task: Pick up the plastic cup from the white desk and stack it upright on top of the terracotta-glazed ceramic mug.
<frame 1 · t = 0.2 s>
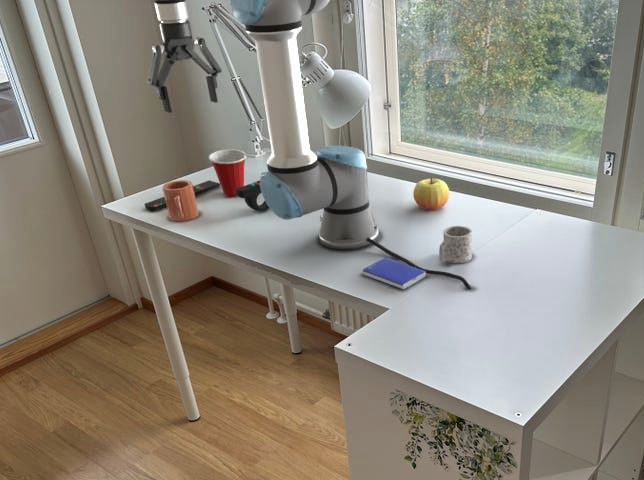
hand: (191, 106, 193), 28 cm above the table, tool pointing down, fingers open, 13 cm apart
plastic cup: (234, 194, 215), on the table
apple: (431, 207, 200), on the table
mug 2: (453, 260, 171), on the table
mug: (184, 215, 202), on the table
controller: (260, 211, 203), on the table
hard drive: (394, 276, 165), on the table
remote control: (183, 198, 214), on the table
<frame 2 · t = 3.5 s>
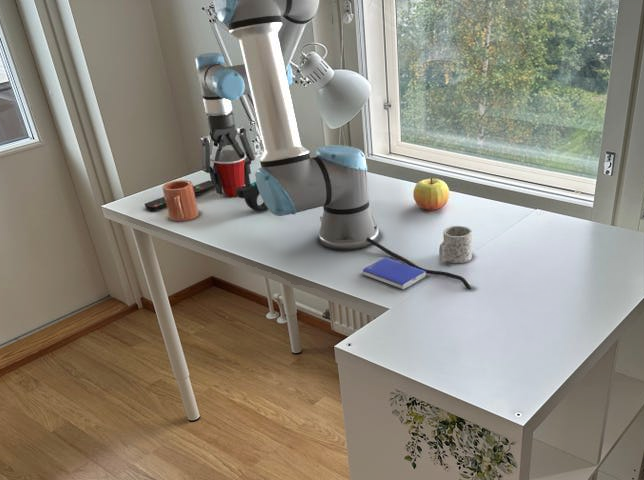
hand: (233, 189, 214), 1 cm above the table, tool pointing down, fingers closed on plastic cup, 9 cm apart
plastic cup: (234, 194, 215), on the table, touching gripper
everything else where it was.
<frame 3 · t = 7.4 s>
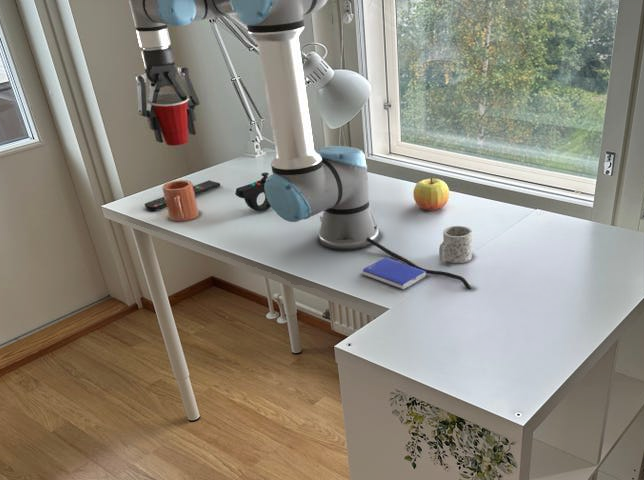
hand: (176, 137, 192), 21 cm above the table, tool pointing down, fingers closed on plastic cup, 9 cm apart
plastic cup: (177, 143, 193), point 20 cm above the table, touching gripper
everything else where it was.
when the fingers open (10 cm above the table, at t = 11.2 s): plastic cup stays where it is, resting on mug.
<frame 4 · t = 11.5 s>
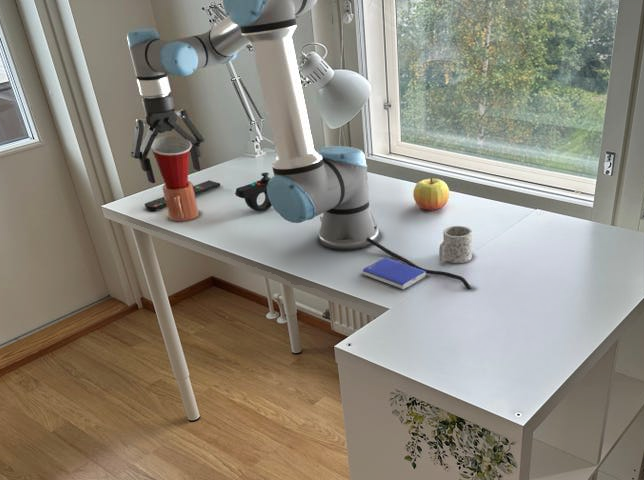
hand: (175, 175, 195), 12 cm above the table, tool pointing down, fingers open, 13 cm apart
plastic cup: (177, 186, 197), point 9 cm above the table, touching mug
everything else where it was.
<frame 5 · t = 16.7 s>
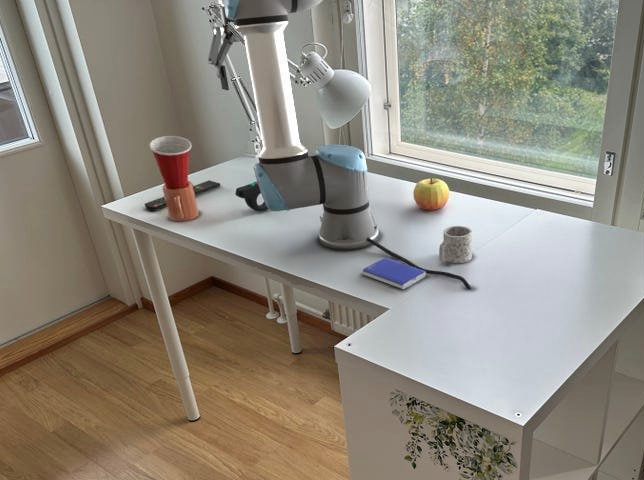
hand: (246, 85, 208), 29 cm above the table, tool pointing down, fingers open, 13 cm apart
nothing on the table moved.
at the end: plastic cup 0.0 cm off-centre on the mug, point 8.8 cm above the mug's base; plastic cup tilted 7°; the gripper is holding nothing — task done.
